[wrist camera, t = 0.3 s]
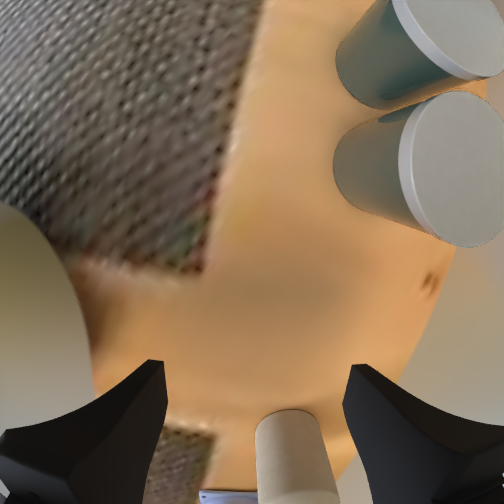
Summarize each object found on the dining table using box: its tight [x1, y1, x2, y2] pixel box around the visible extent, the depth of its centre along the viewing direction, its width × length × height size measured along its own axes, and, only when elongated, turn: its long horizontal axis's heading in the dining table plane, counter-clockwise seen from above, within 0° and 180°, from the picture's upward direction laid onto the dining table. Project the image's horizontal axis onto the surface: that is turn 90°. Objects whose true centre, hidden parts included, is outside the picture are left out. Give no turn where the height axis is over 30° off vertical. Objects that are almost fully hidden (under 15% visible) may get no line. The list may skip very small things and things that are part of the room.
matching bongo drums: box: [333, 0, 504, 248], centre depth 13 cm, size 13×6×10 cm, turn 177°
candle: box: [255, 410, 340, 504], centre depth 19 cm, size 6×6×10 cm
